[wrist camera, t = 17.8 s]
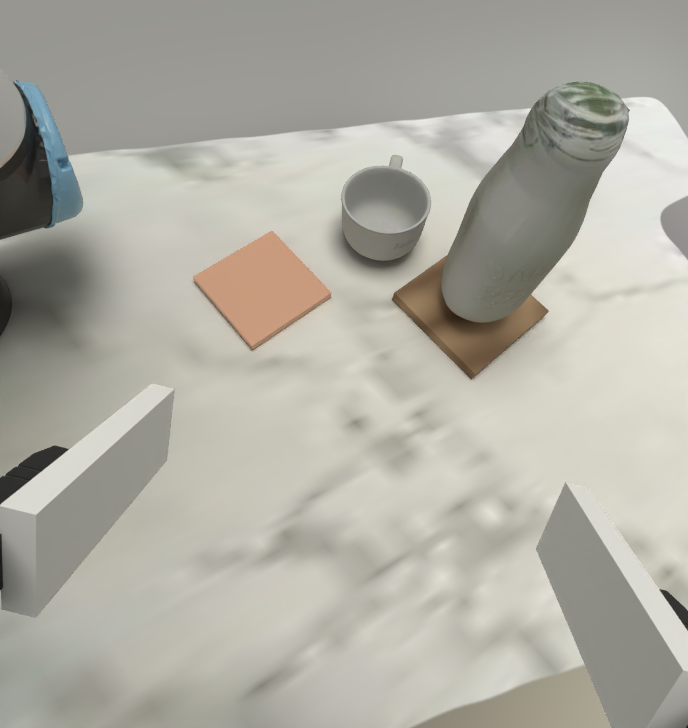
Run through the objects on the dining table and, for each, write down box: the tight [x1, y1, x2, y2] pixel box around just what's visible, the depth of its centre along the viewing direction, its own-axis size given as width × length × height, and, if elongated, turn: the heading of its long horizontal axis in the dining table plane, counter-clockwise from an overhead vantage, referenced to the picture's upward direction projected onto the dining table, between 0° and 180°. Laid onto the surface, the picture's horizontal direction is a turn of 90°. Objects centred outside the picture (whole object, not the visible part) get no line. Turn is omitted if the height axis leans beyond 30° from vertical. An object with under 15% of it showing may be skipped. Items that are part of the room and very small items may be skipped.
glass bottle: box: [441, 82, 629, 323], centre depth 48 cm, size 10×10×28 cm
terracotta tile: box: [193, 231, 331, 350], centre depth 60 cm, size 12×12×1 cm
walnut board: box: [392, 255, 548, 379], centre depth 61 cm, size 14×14×2 cm
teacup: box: [342, 155, 431, 261], centre depth 62 cm, size 14×11×8 cm
